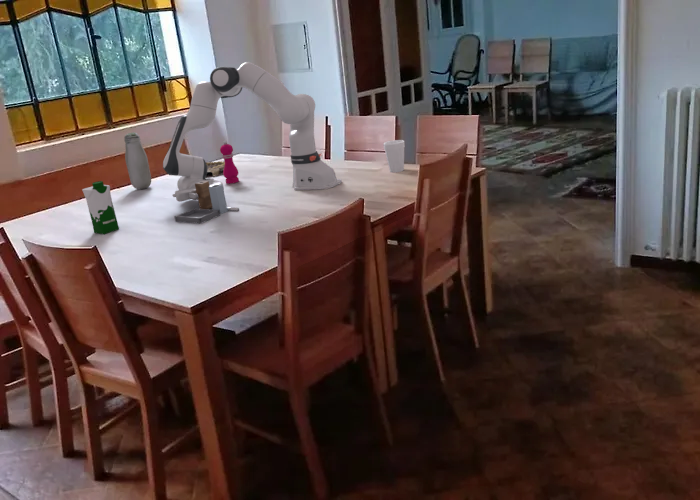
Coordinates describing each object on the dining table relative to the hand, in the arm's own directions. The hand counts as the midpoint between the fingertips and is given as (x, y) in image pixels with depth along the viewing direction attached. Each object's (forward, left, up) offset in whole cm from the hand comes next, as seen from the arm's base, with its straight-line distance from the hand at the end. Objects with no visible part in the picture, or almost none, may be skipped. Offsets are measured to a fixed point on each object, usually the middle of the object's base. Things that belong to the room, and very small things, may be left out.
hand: (204, 194), depth 284 cm
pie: (+56, -60, -7) cm, 82 cm away
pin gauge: (-11, -2, -6) cm, 13 cm away
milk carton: (+24, +33, -7) cm, 41 cm away
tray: (-5, +11, -7) cm, 14 cm away
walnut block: (+1, 0, -6) cm, 6 cm away
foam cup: (-51, -69, -7) cm, 86 cm away
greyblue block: (-9, +2, -7) cm, 11 cm away
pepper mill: (+25, -42, -7) cm, 50 cm away
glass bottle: (+70, -25, -7) cm, 75 cm away
